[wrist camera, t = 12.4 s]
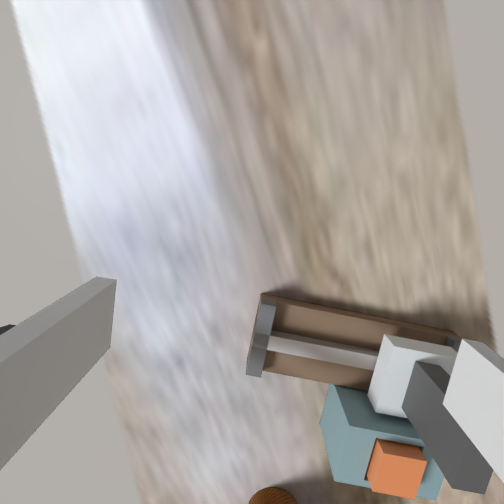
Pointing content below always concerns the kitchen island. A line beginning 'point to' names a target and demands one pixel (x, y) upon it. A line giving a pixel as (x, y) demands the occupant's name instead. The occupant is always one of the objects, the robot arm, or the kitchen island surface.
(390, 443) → the button
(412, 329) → the rail board
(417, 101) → the kitchen island surface
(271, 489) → the disposable coffee cup
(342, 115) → the kitchen island surface
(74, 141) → the kitchen island surface
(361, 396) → the cabinet
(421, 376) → the carriage
